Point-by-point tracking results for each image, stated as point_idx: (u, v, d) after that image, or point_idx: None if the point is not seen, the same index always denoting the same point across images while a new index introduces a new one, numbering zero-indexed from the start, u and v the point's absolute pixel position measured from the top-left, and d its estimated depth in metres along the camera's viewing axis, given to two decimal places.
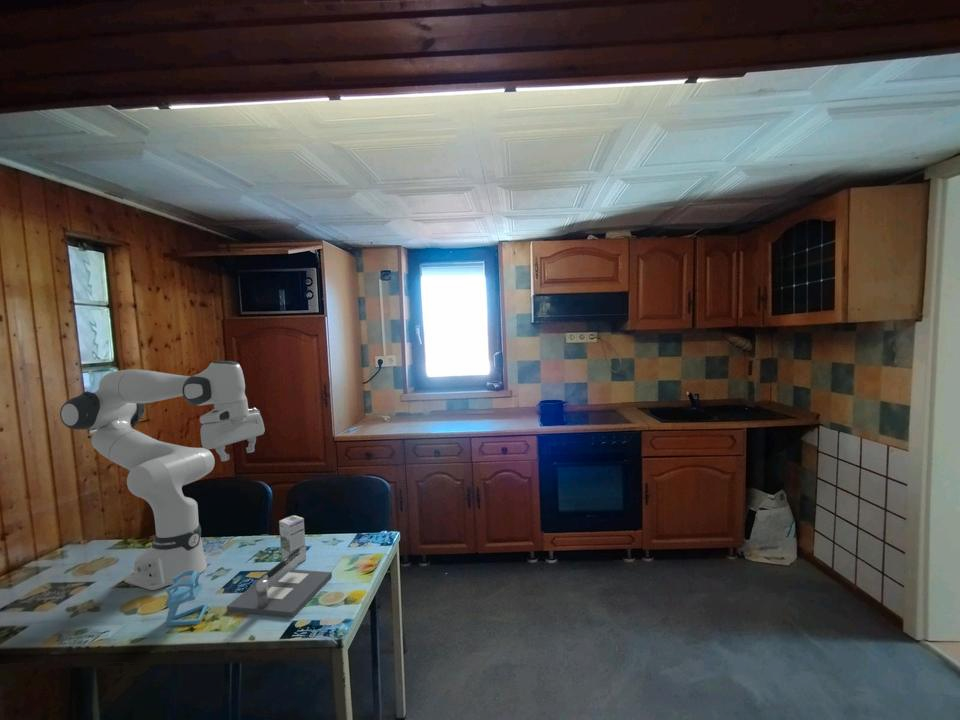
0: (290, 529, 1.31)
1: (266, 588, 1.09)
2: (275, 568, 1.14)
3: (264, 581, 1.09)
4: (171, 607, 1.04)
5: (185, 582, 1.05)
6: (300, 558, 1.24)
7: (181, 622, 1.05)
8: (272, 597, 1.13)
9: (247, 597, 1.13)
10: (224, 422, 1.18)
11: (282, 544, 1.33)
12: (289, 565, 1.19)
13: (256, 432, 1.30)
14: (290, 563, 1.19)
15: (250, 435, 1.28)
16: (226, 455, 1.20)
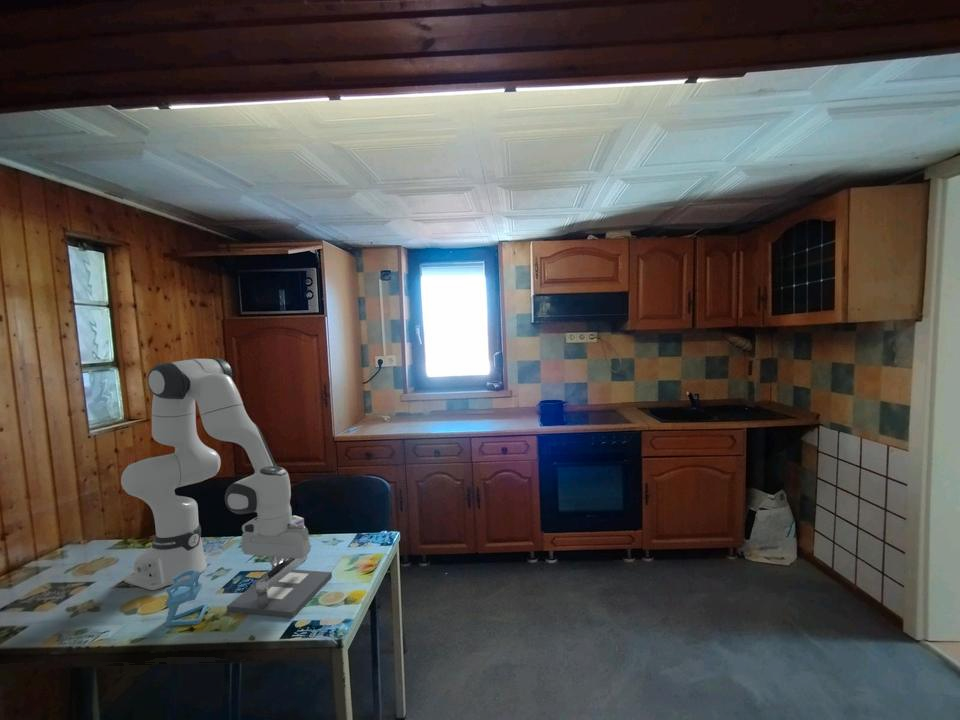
0: None
1: (266, 588, 1.09)
2: (276, 568, 1.14)
3: (264, 581, 1.09)
4: (171, 607, 1.04)
5: (185, 582, 1.05)
6: (302, 558, 1.24)
7: (181, 622, 1.05)
8: (272, 597, 1.13)
9: (247, 597, 1.13)
10: (251, 534, 1.16)
11: None
12: (290, 565, 1.18)
13: (291, 554, 1.15)
14: (291, 563, 1.19)
15: (283, 555, 1.15)
16: (273, 565, 1.17)
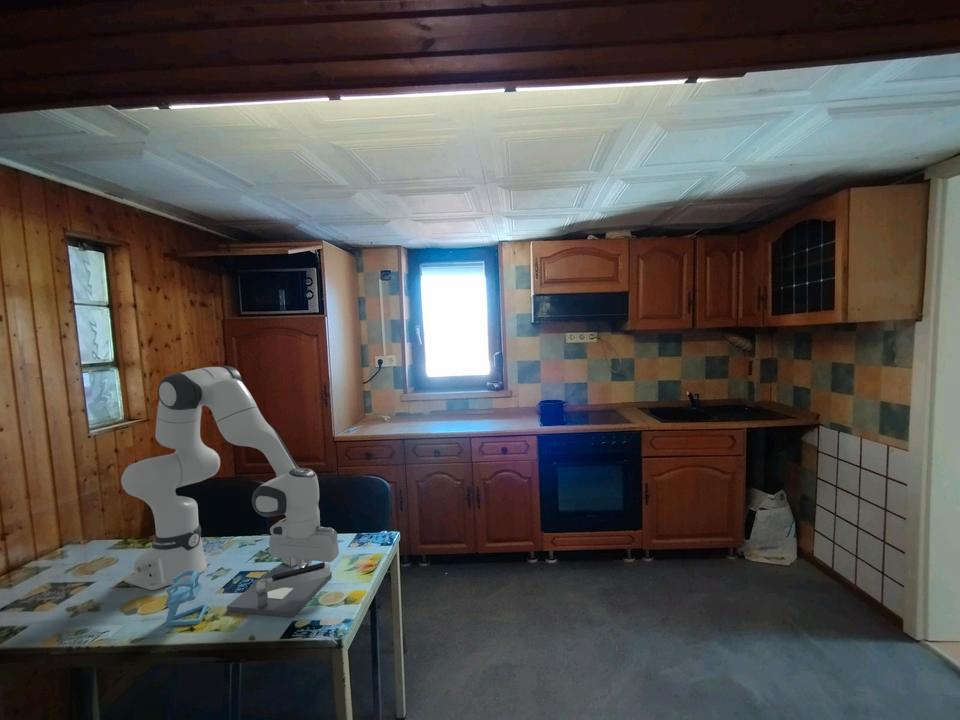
0: None
1: (261, 590, 1.08)
2: (282, 574, 1.11)
3: (261, 582, 1.08)
4: (171, 607, 1.04)
5: (185, 582, 1.05)
6: (322, 574, 1.15)
7: (181, 622, 1.05)
8: (272, 597, 1.13)
9: (247, 597, 1.13)
10: (279, 536, 1.14)
11: None
12: (301, 576, 1.12)
13: (320, 557, 1.13)
14: (303, 574, 1.13)
15: (312, 558, 1.14)
16: None
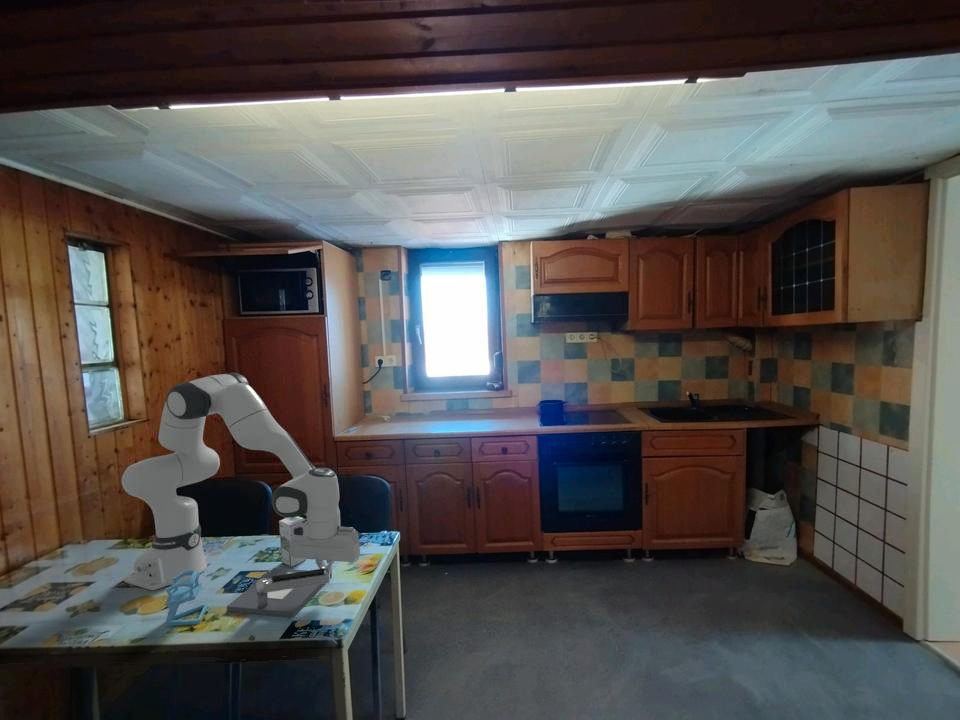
0: (290, 529, 1.31)
1: (260, 590, 1.08)
2: (281, 576, 1.10)
3: (260, 582, 1.08)
4: (171, 607, 1.04)
5: (185, 582, 1.05)
6: (320, 580, 1.11)
7: (181, 622, 1.05)
8: (272, 597, 1.13)
9: (247, 597, 1.13)
10: (300, 537, 1.13)
11: (282, 544, 1.33)
12: (299, 580, 1.10)
13: (342, 557, 1.12)
14: (301, 579, 1.10)
15: (333, 558, 1.13)
16: None
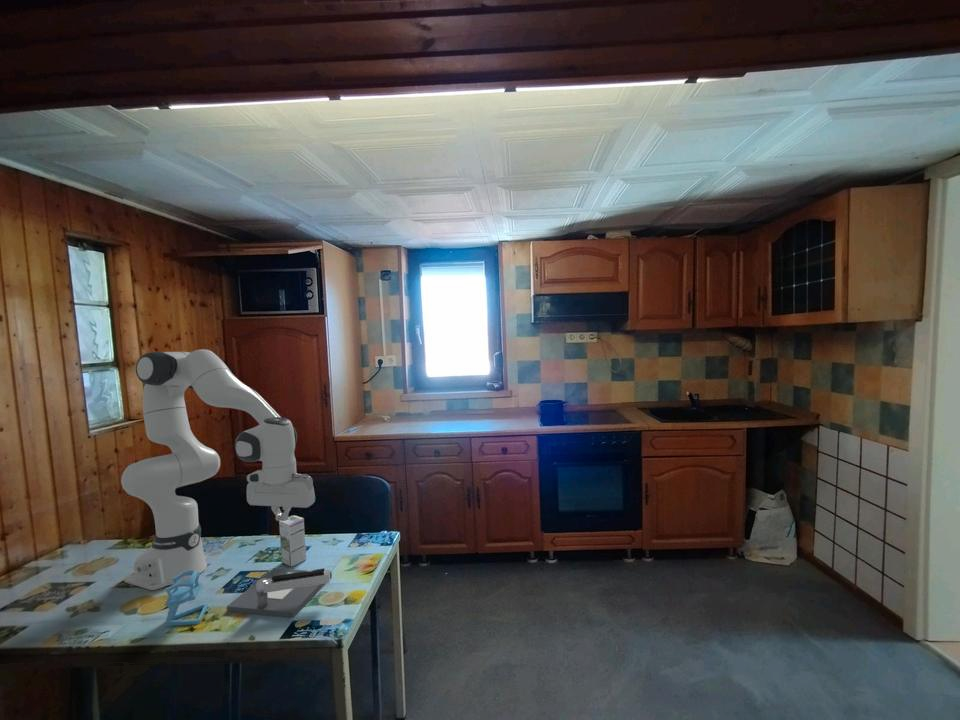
0: (290, 529, 1.31)
1: (260, 590, 1.08)
2: (281, 576, 1.10)
3: (260, 582, 1.08)
4: (171, 607, 1.04)
5: (185, 582, 1.05)
6: (320, 580, 1.11)
7: (181, 622, 1.05)
8: (272, 597, 1.13)
9: (247, 597, 1.13)
10: (256, 484, 1.16)
11: (282, 544, 1.33)
12: (299, 580, 1.10)
13: (296, 503, 1.15)
14: (301, 579, 1.10)
15: (288, 504, 1.15)
16: (276, 515, 1.17)
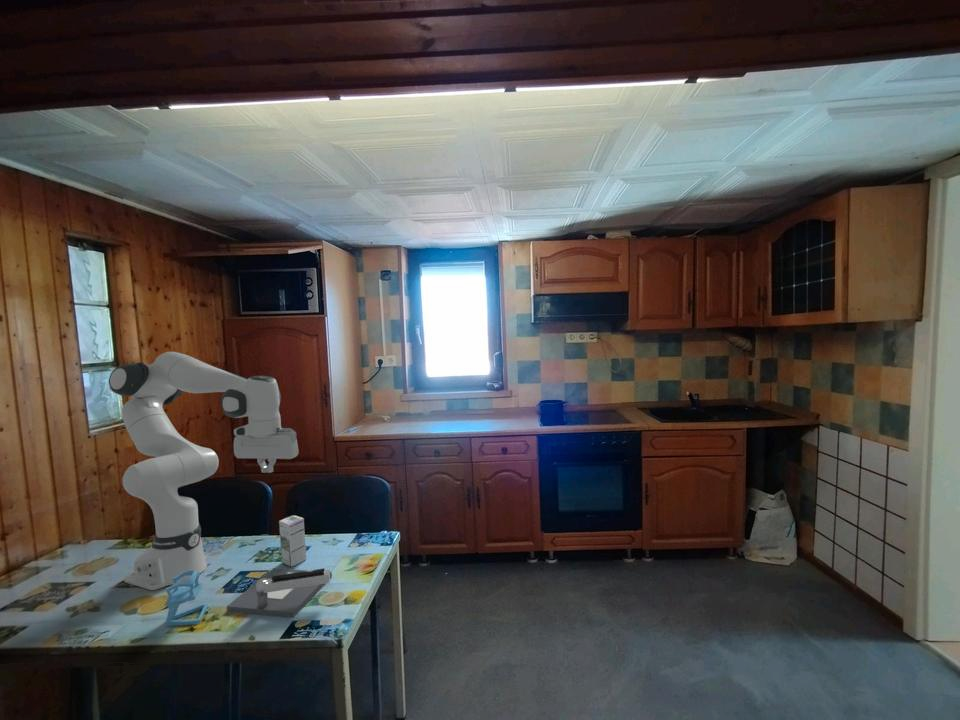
0: (290, 529, 1.31)
1: (260, 590, 1.08)
2: (281, 576, 1.10)
3: (260, 582, 1.08)
4: (171, 607, 1.04)
5: (185, 582, 1.05)
6: (320, 580, 1.11)
7: (181, 622, 1.05)
8: (272, 597, 1.13)
9: (247, 597, 1.13)
10: (242, 437, 1.23)
11: (282, 544, 1.33)
12: (299, 580, 1.10)
13: (280, 454, 1.22)
14: (301, 579, 1.10)
15: (273, 456, 1.23)
16: (262, 468, 1.24)
